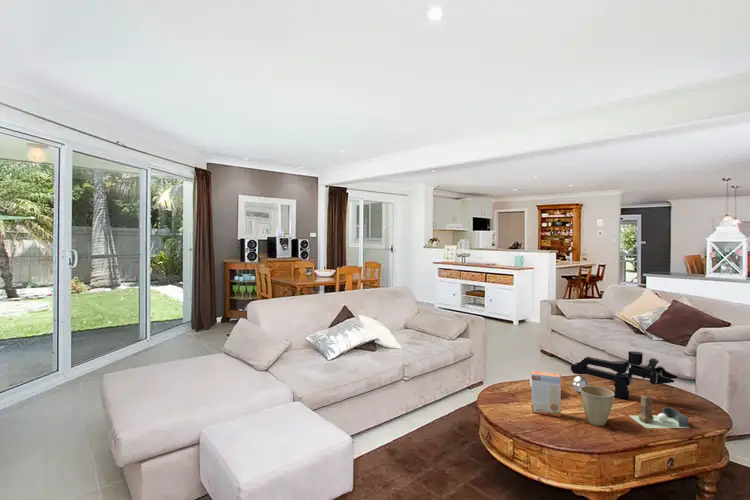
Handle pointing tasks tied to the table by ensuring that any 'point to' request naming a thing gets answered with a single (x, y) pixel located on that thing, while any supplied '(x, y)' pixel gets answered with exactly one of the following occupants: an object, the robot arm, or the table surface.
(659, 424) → the pitch
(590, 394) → the plant pot
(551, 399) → the cracker box
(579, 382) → the shiny silver sphere
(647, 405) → the block
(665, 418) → the ball
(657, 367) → the robot arm
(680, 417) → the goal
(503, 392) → the table surface
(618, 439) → the table surface
